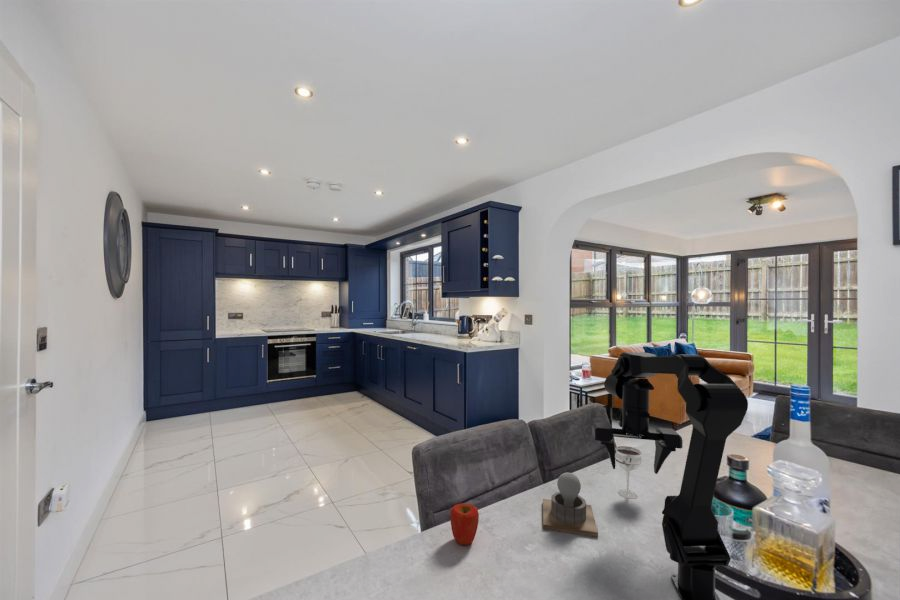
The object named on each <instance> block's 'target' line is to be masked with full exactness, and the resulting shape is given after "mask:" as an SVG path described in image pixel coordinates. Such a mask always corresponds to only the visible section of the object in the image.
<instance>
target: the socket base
mask: <svg viewBox="0 0 900 600" xmlns="http://www.w3.org/2000/svg"><path fill="white" fill-rule="evenodd" d="M542 525H543V526H542V529H543V530H547V531H548V530H549V531H555V532H563V533H568V534H575V535H582V536H587V537H595V538H598V537H599V532H598V527H597V523H596V519H595V515H594V512H593V507H592V505H591V504H587V501H586V500H585V498H583V497H582V496H581V495H579V494H578V495H577V497H576V498H575V500H574V506H573V507H567V506H564V499H563V497H562V495H561V493H560V491H558V492H555V493H553V494H551V497H550V499H546V498H543V499H542Z"/></svg>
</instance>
